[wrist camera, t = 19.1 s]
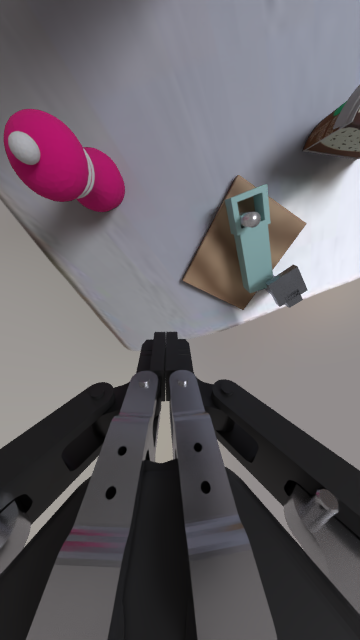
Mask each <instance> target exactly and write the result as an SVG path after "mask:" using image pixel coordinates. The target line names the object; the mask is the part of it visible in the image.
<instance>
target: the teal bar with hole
mask: <svg viewBox="0 0 360 640" xmlns="http://www.w3.org/2000/svg"><path fill="white" fill-rule="evenodd" d="M251 196H253V199H254V207H255V212H258V213H259V214H260V217H261V220H260V223H259V224H258V225H257V226H256V227H254V228H251V227H243V226H241V223H240V217H239V211H238V204H237V202H239V201H241V200H244V199H246V198H249V197H251ZM225 204H226V209H227V215H228V220H229V225H230V230H231V234H233V235H234V238H235V243H236V249H237V254H238V260H239V265H240V271H241V276H242V281H243V287H244V288H245V289H246V290H247V291H248V292H249V293H253V292H256V291H259V290H262V289H265V288H268V287H267V285H266V282H268V281H269V280H271V279H272V278H273V273H272V262H271V252H270V242H269V231H268V224H270V223H271V222H270V211H269V200H268V188H267V184H265V185H262V186H259V187H256V188H254V189H251V190H249V191H246V192H244V193H241V194H239V195H236V196H234V197H231V198H229V199H226V200H225Z"/></svg>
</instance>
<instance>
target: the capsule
mask: <svg viewBox="0 0 360 640" xmlns="http://www.w3.org/2000/svg"><path fill="white" fill-rule="evenodd" d="M239 217H240V223H241V226H243V227H251V228H254V227H256V226H257V225H258V224H259V223H260V220H261V217H260V214H259V213H258V212H244V213H239Z"/></svg>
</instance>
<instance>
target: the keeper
mask: <svg viewBox="0 0 360 640" xmlns="http://www.w3.org/2000/svg"><path fill="white" fill-rule="evenodd" d="M266 285H267V287H268V288H266V290H267V291H268V292H269V293H270V294H271V295H272V296H273V298H274V300H275V302H276V304H277V305H278V306H282V305H284V304H285V305H286V306H287V307H291V306H293V305H295V304H296V303H298V302H300V301H302V300H303V299H302V297H301V295H300V294H302V293H304V292H305V291H307V288H306V285H305V283H304V281H303V278H302V276H301V273H300V271H299V269H298V267H297V266H295V265H292V266H291V267H289V268H288V269H286V270H285V271H283V272H281V273H280V274H278V275H277V276H274V275H273V278H272V279H271V280H269V281H268V282H266Z"/></svg>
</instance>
